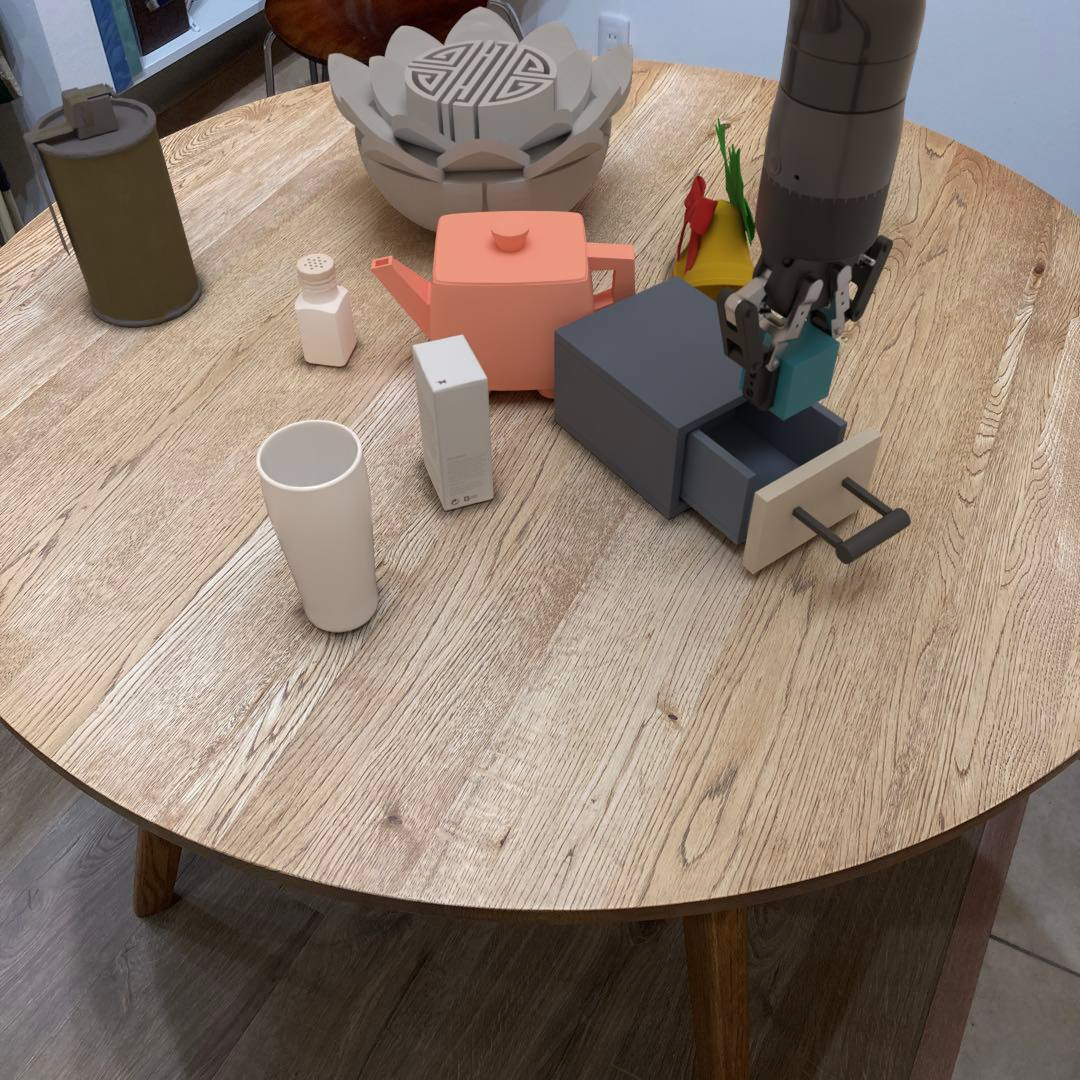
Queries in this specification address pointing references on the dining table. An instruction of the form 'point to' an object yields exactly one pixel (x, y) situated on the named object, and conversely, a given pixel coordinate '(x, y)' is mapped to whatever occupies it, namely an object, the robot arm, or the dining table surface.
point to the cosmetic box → (454, 421)
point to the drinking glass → (322, 519)
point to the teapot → (510, 288)
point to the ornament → (717, 233)
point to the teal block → (803, 370)
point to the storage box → (645, 384)
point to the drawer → (784, 481)
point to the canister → (116, 205)
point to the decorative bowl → (482, 117)
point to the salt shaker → (323, 312)
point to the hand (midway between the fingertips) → (784, 389)
